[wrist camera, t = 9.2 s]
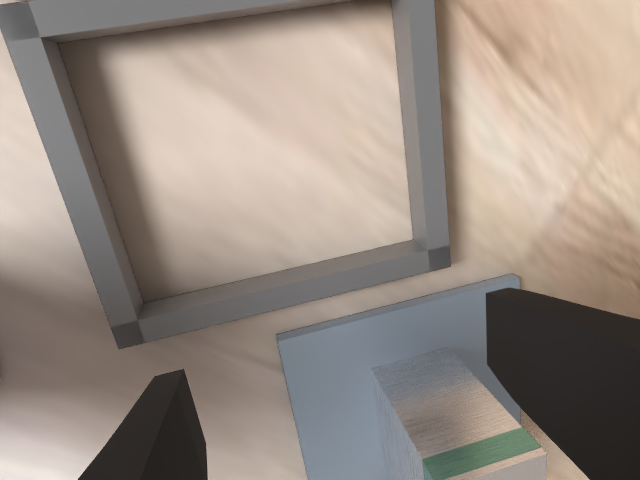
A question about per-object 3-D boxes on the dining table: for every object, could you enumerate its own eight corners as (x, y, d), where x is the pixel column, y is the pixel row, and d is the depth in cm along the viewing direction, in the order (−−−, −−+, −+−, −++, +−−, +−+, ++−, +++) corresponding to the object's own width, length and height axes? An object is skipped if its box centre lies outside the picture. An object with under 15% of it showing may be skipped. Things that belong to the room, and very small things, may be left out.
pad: (317, 522, 24) (320, 532, 24) (275, 334, 20) (277, 341, 19) (513, 457, 26) (520, 465, 25) (512, 273, 22) (519, 278, 21)
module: (384, 463, 23) (449, 607, 17) (369, 368, 21) (438, 489, 15) (454, 441, 24) (544, 571, 17) (447, 346, 22) (547, 453, 15)
